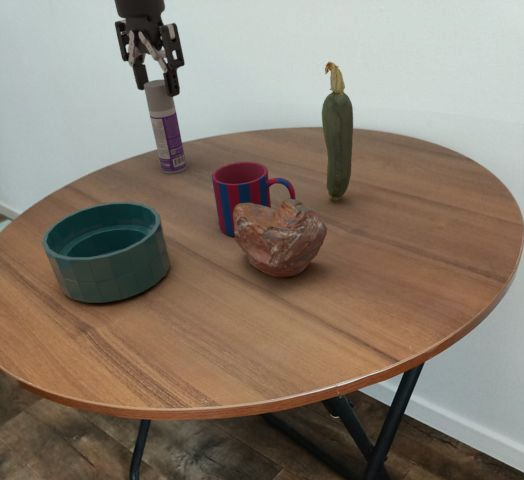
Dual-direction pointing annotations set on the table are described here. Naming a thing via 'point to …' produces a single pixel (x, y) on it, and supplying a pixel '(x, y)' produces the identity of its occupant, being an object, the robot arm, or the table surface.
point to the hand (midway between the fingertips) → (158, 92)
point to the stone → (279, 236)
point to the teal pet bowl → (107, 251)
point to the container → (165, 127)
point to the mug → (242, 190)
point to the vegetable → (337, 134)
